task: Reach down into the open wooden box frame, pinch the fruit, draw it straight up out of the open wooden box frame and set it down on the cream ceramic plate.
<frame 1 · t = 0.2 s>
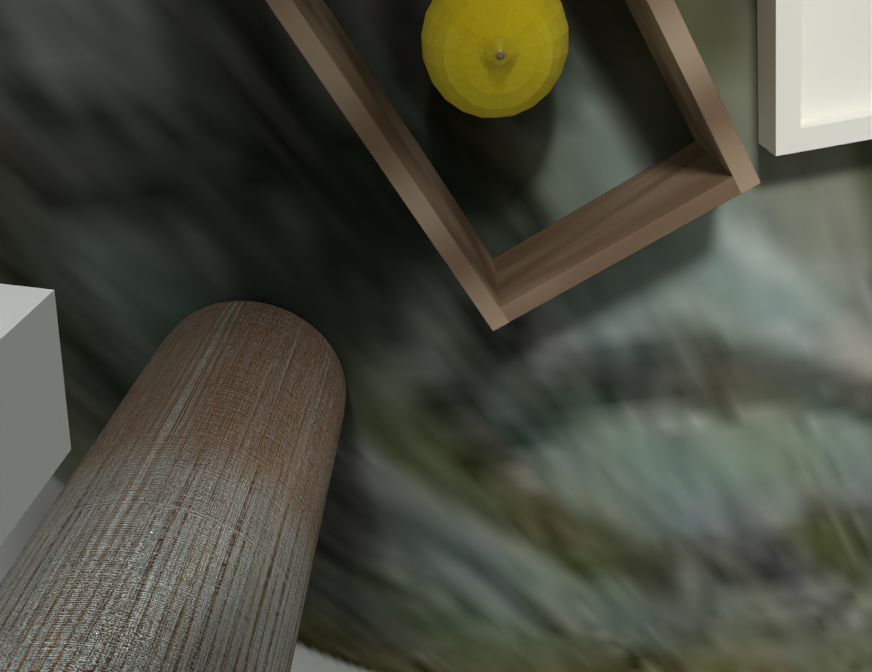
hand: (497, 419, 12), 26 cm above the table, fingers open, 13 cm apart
fruit: (489, 28, 34), resting in open wooden box frame
open wooden box frame: (490, 28, 34), on the table
planter: (253, 381, 43), on the table
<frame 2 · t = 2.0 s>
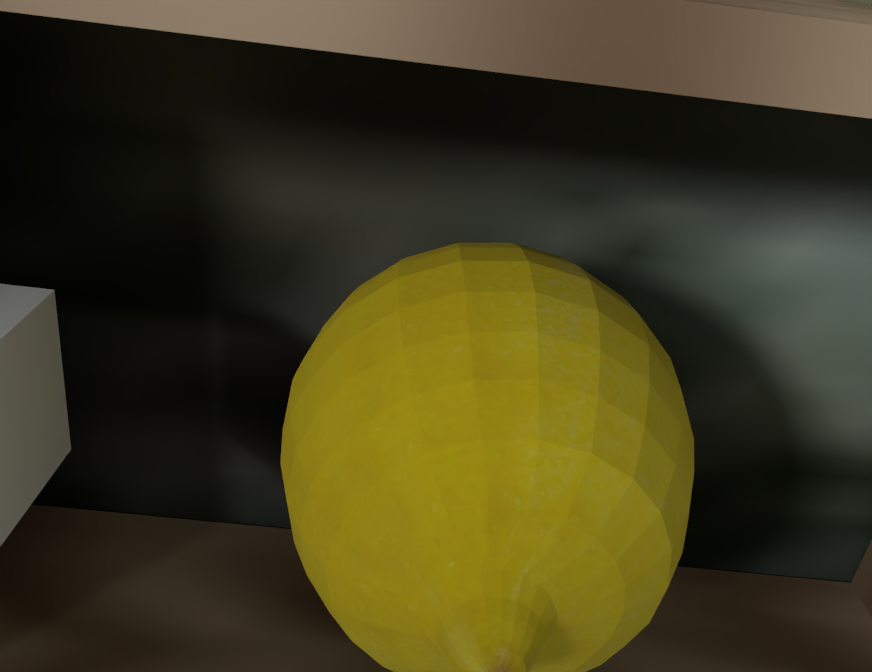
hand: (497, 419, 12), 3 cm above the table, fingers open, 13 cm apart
fruit: (473, 317, 15), resting in open wooden box frame
open wooden box frame: (473, 322, 15), on the table
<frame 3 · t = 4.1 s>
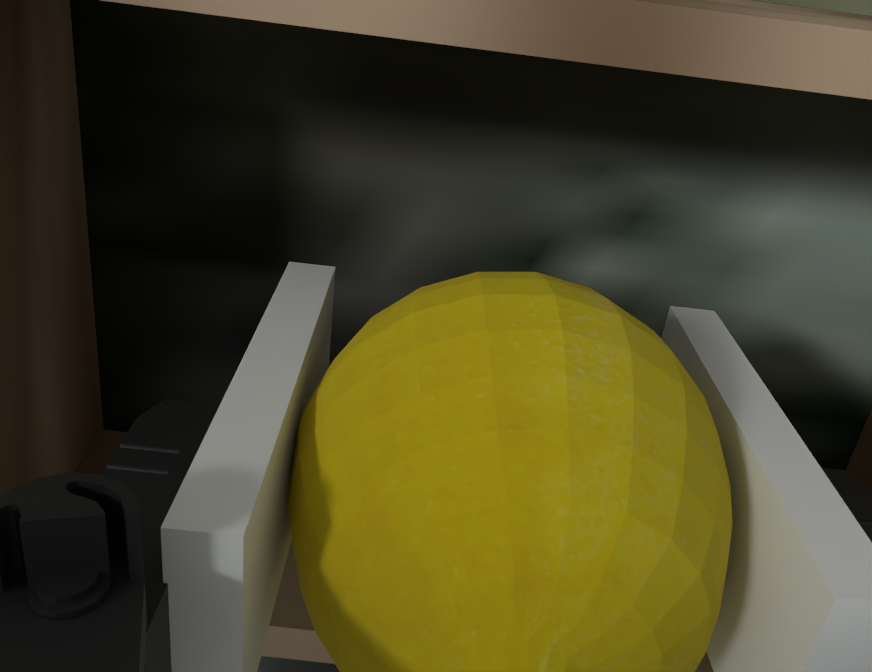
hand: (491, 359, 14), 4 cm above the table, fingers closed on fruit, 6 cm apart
fruit: (490, 343, 14), point 4 cm above the table, touching gripper
open wooden box frame: (501, 276, 18), on the table
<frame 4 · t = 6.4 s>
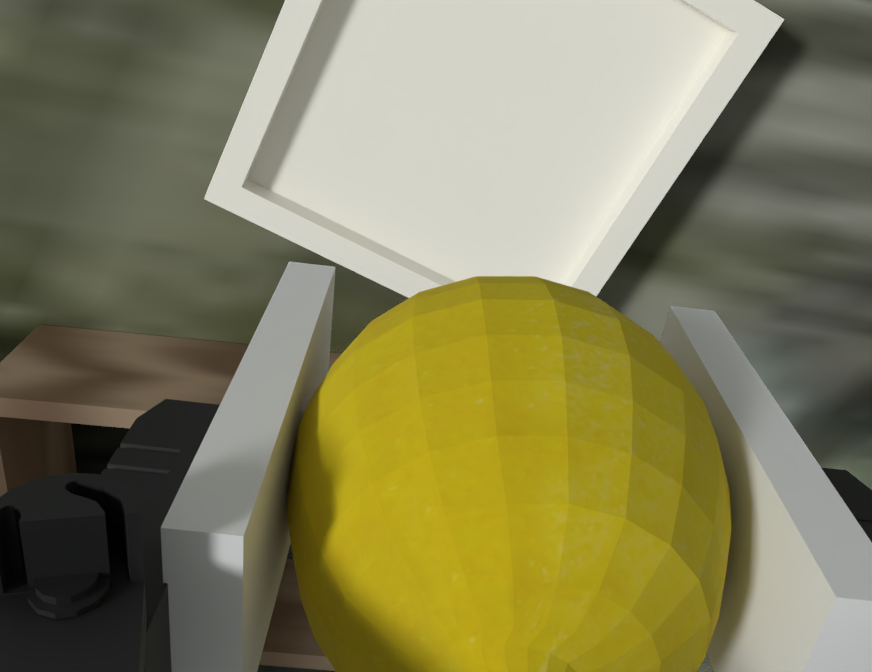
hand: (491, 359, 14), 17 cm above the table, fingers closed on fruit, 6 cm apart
fruit: (489, 346, 14), point 17 cm above the table, touching gripper
open wooden box frame: (279, 467, 36), on the table
plate: (476, 101, 29), on the table
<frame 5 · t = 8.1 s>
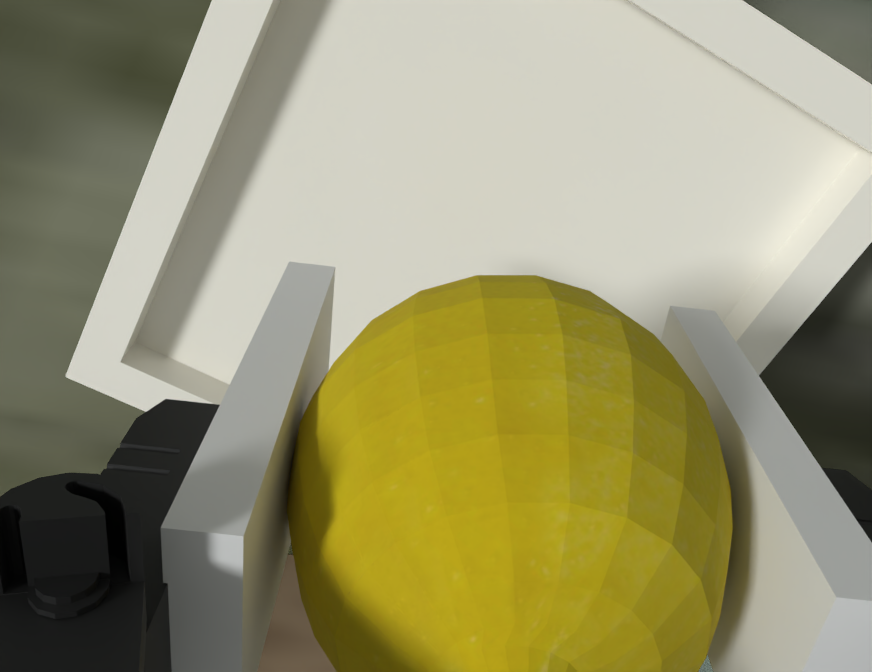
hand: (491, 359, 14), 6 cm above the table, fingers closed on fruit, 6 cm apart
fruit: (490, 346, 14), point 6 cm above the table, touching gripper
plate: (473, 233, 19), on the table
when the fingers open (2 cm above the table, at t = 9.1 s): fruit stays where it is, resting on plate.
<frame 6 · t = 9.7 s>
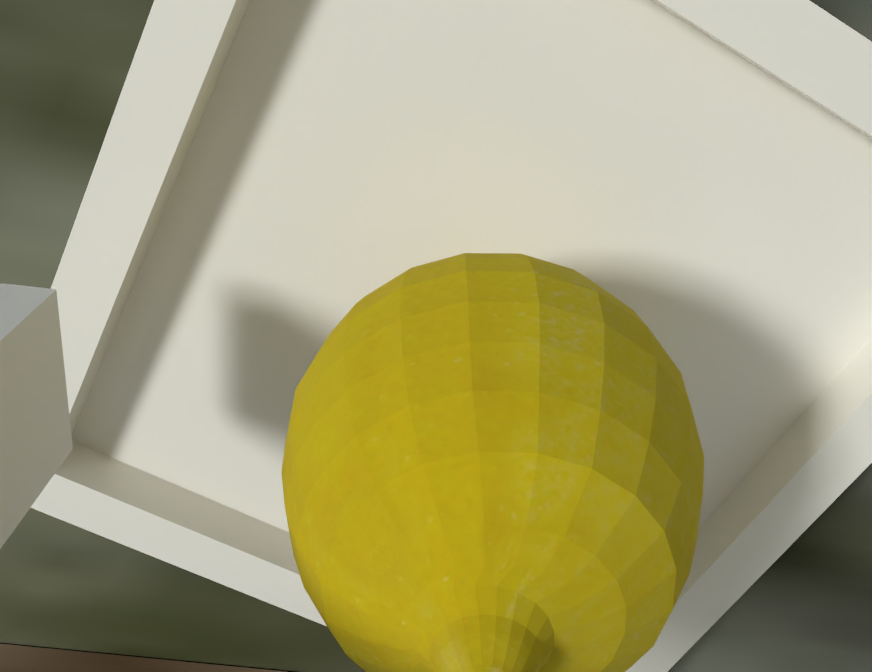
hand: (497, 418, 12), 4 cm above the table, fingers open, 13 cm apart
fruit: (485, 330, 15), point 1 cm above the table, touching plate
plate: (486, 307, 16), on the table
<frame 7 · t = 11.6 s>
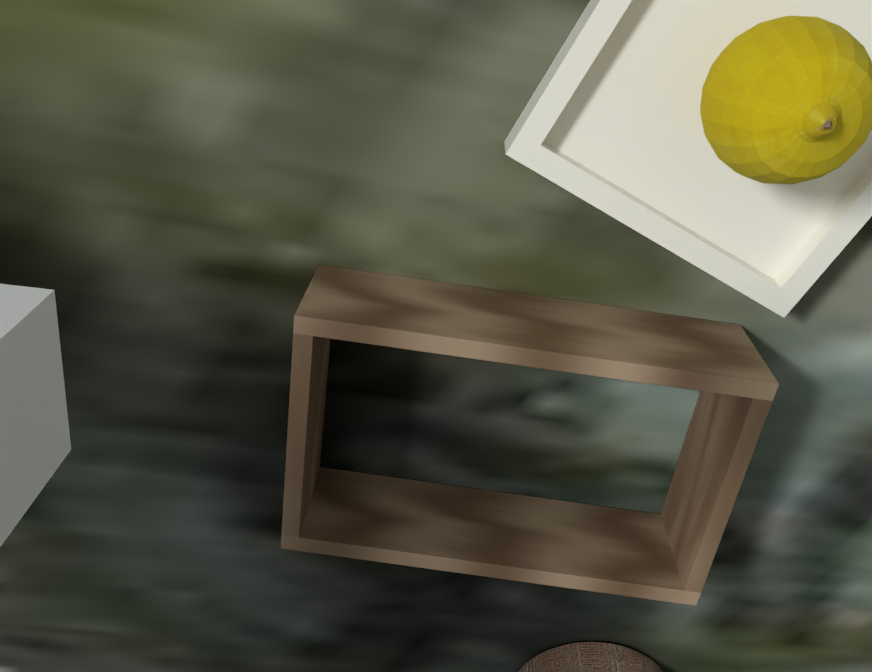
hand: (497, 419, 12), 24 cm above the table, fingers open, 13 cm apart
fruit: (750, 82, 32), point 1 cm above the table, touching plate
open wooden box frame: (507, 405, 40), on the table
plate: (744, 78, 33), on the table
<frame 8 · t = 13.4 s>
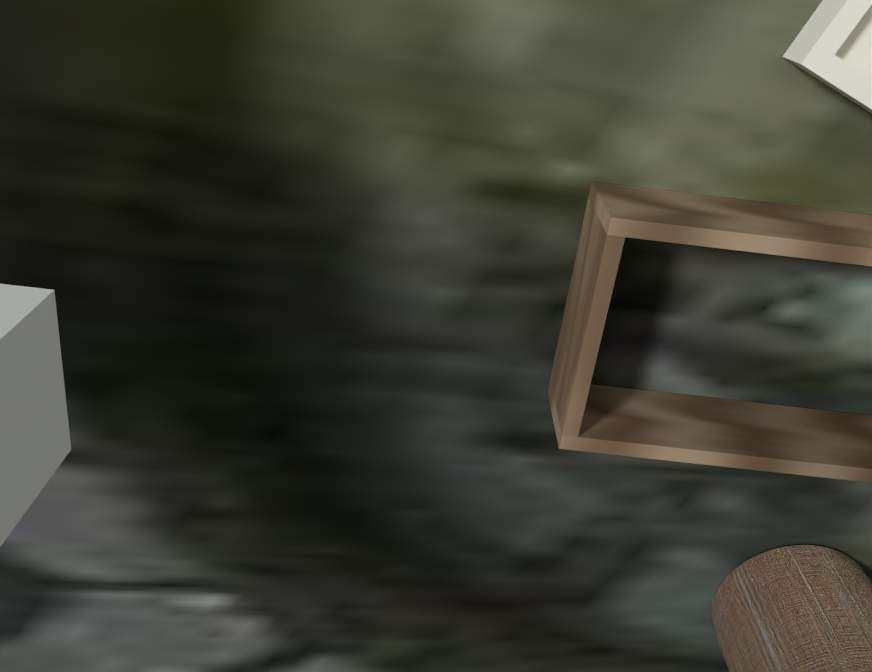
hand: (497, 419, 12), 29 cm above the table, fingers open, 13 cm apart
open wooden box frame: (751, 314, 43), on the table
planter: (787, 599, 52), on the table
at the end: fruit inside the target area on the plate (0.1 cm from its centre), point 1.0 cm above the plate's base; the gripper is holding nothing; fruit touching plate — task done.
